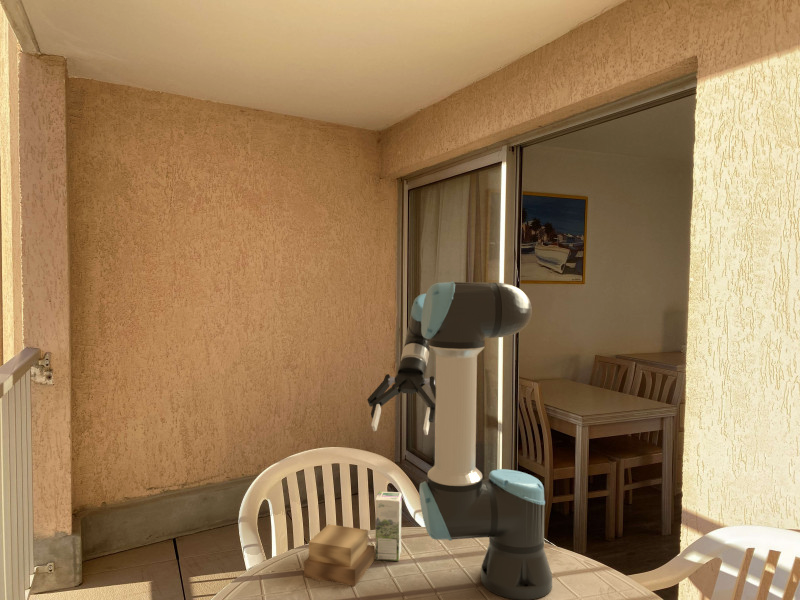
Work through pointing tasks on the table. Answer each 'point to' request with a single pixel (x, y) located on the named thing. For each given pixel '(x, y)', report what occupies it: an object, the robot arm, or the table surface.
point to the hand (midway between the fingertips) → (399, 430)
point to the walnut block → (340, 569)
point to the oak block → (338, 545)
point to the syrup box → (388, 526)
